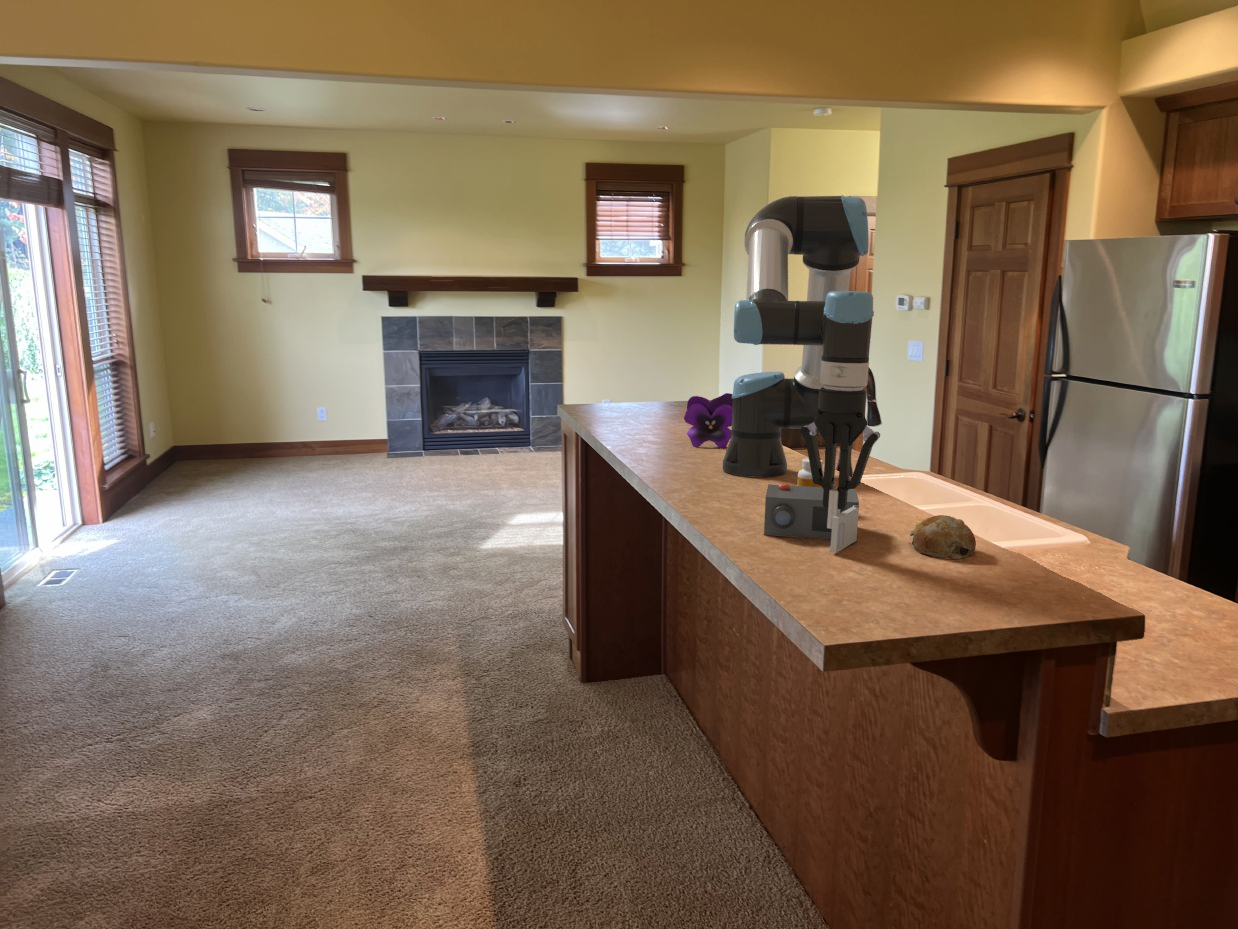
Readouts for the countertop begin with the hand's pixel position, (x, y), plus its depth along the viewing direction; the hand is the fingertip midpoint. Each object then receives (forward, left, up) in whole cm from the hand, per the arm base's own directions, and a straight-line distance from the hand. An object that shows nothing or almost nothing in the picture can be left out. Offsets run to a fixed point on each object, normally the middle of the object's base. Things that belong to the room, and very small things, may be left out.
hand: (833, 526), depth 150 cm
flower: (-93, -31, -4) cm, 98 cm away
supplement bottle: (-28, -4, -4) cm, 29 cm away
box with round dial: (-11, -4, -4) cm, 12 cm away
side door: (-1, +2, -4) cm, 5 cm away
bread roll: (-4, +18, -4) cm, 19 cm away
